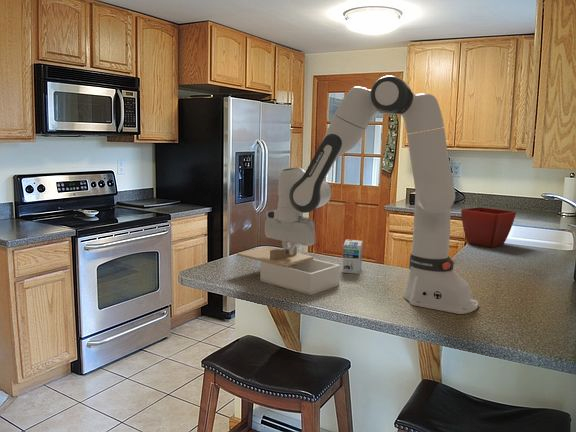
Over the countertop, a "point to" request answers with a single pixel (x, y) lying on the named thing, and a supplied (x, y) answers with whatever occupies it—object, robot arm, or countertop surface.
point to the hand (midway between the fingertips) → (288, 254)
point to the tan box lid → (275, 256)
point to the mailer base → (302, 276)
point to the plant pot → (487, 225)
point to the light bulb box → (352, 256)
